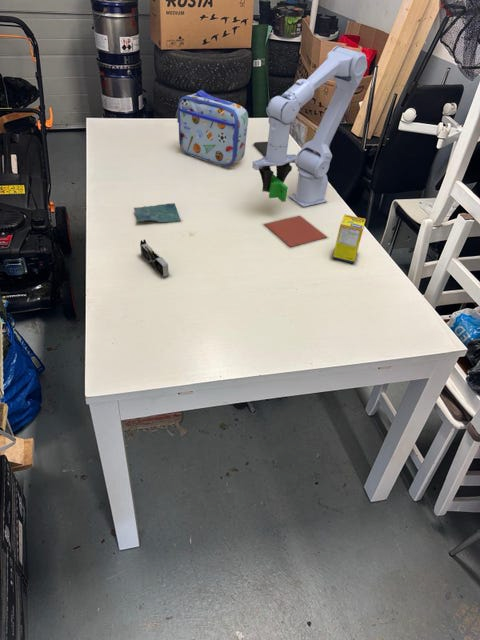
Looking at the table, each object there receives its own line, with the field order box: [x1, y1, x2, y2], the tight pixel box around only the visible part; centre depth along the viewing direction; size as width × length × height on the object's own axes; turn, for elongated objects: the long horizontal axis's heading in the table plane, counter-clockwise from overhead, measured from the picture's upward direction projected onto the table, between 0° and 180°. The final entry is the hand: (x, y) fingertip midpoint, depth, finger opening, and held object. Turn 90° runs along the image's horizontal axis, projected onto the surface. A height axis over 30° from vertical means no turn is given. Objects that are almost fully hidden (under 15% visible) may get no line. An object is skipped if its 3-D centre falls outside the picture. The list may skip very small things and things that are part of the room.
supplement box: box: [332, 214, 367, 265], centre depth 124 cm, size 6×6×11 cm
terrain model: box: [133, 202, 181, 223], centre depth 136 cm, size 13×8×2 cm, turn 108°
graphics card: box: [139, 239, 170, 278], centre depth 116 cm, size 12×3×5 cm, turn 37°
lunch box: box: [175, 89, 249, 167], centre depth 165 cm, size 28×10×22 cm, turn 58°
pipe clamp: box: [261, 173, 289, 203], centre depth 138 cm, size 11×4×5 cm, turn 24°
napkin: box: [264, 215, 327, 248], centre depth 136 cm, size 13×14×1 cm
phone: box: [253, 141, 268, 157], centre depth 181 cm, size 7×1×15 cm
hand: (272, 188), depth 138 cm, fingers closed on pipe clamp, 4 cm apart
